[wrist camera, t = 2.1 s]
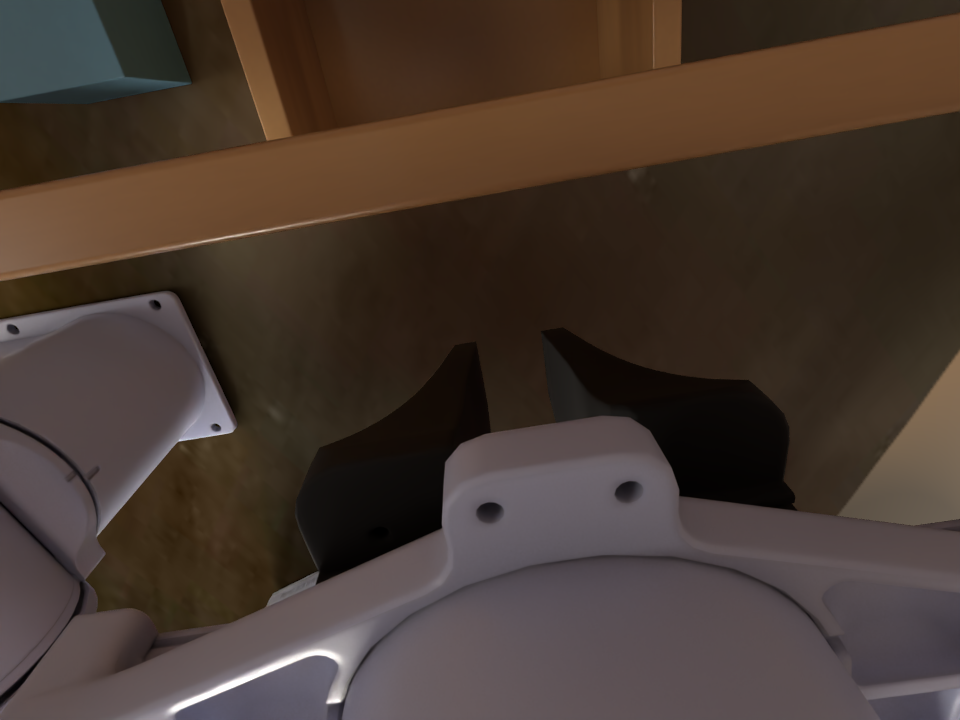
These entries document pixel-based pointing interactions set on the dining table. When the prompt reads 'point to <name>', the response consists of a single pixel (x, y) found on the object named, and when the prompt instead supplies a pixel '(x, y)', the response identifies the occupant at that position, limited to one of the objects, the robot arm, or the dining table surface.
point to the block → (86, 50)
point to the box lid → (486, 147)
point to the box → (434, 53)
